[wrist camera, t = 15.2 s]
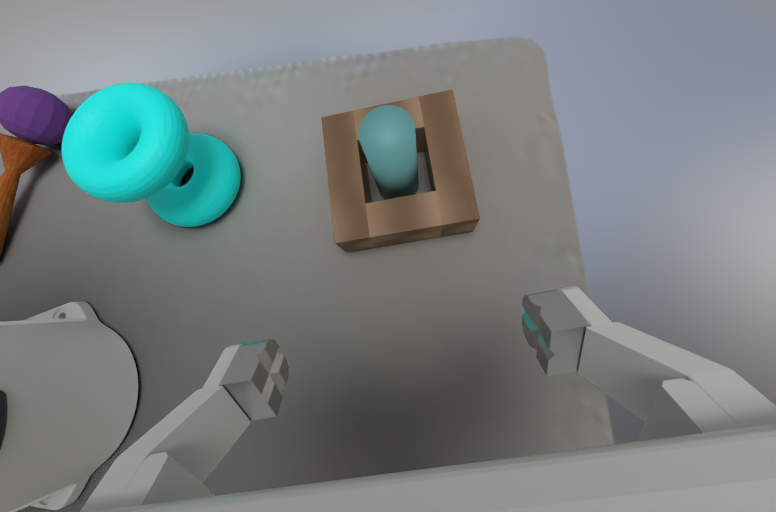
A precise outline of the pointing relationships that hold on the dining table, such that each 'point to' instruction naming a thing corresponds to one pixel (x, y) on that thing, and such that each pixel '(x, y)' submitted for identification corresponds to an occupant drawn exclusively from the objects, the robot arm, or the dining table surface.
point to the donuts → (148, 156)
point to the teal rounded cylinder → (390, 150)
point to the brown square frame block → (409, 213)
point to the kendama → (26, 138)
